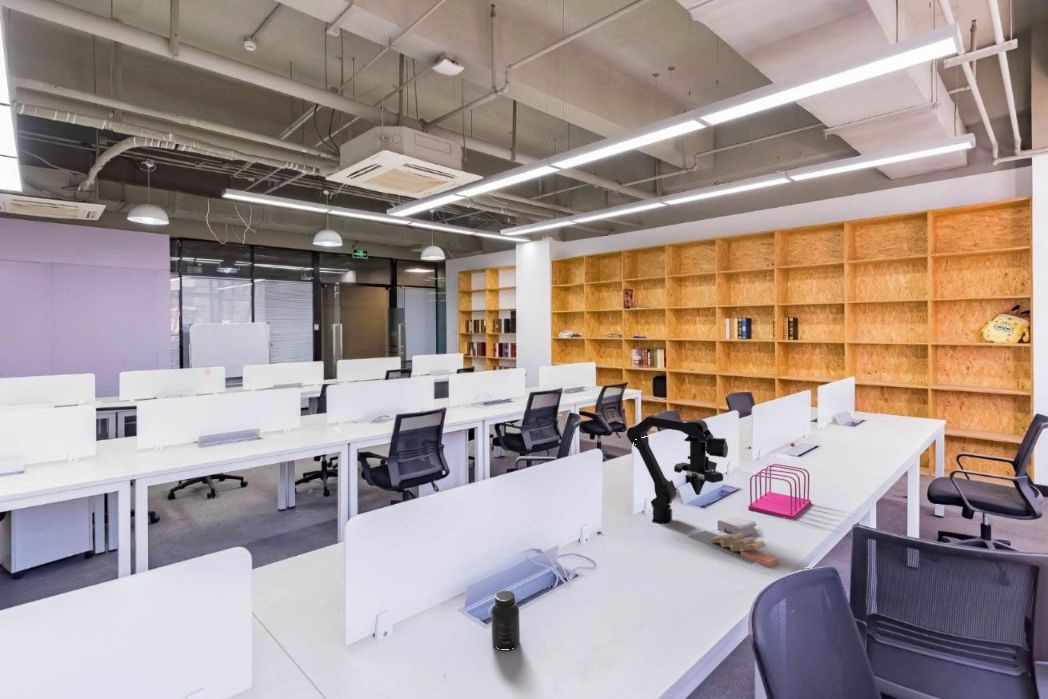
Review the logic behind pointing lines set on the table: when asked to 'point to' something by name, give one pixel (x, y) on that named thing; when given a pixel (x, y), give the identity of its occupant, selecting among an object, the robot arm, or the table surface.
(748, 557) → the domino
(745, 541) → the domino
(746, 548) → the domino
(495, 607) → the supplement bottle
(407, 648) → the table surface
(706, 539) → the domino mat
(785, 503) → the file sorter
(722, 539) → the domino
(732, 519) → the charger
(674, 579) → the table surface
